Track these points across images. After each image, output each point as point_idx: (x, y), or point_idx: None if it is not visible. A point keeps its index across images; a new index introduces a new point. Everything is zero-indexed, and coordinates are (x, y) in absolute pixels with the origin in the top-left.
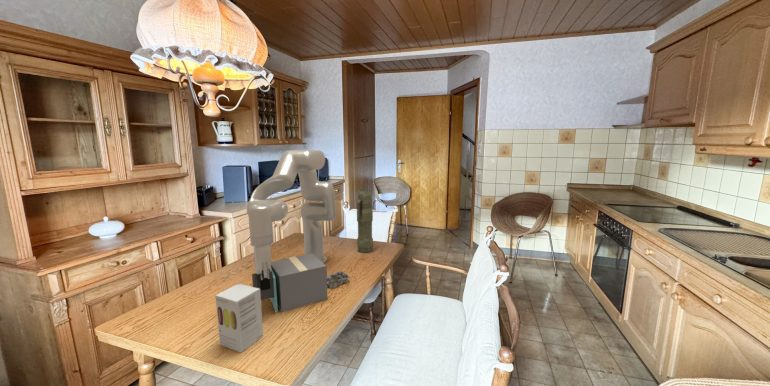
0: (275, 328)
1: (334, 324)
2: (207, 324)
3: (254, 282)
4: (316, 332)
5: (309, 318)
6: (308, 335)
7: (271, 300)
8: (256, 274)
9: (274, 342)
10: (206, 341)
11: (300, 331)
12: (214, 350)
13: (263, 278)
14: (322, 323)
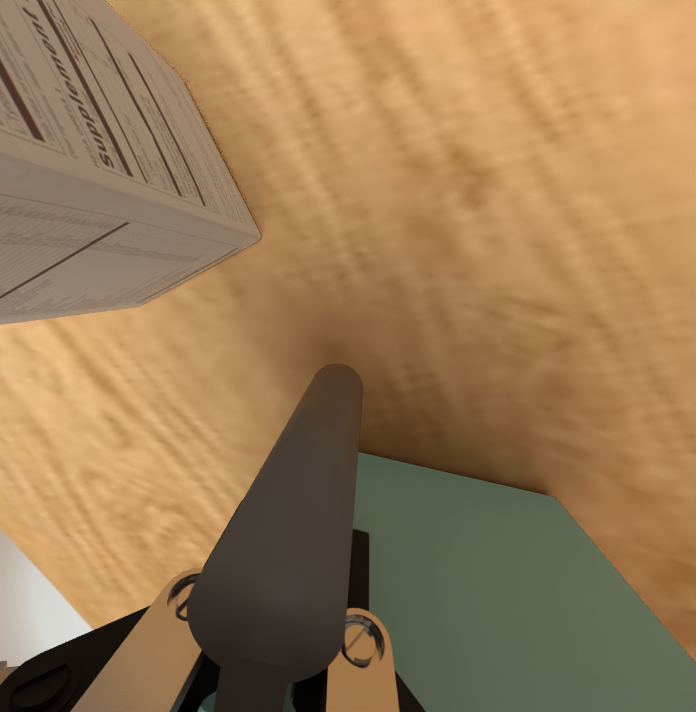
0: (168, 381)
1: (57, 583)
2: (469, 54)
3: (261, 470)
4: (38, 504)
5: (161, 534)
6: (33, 469)
7: (445, 475)
8: (244, 637)
9: (54, 332)
10: (264, 8)
11: (80, 458)
12: (143, 36)
13: (99, 636)
14: (90, 554)
